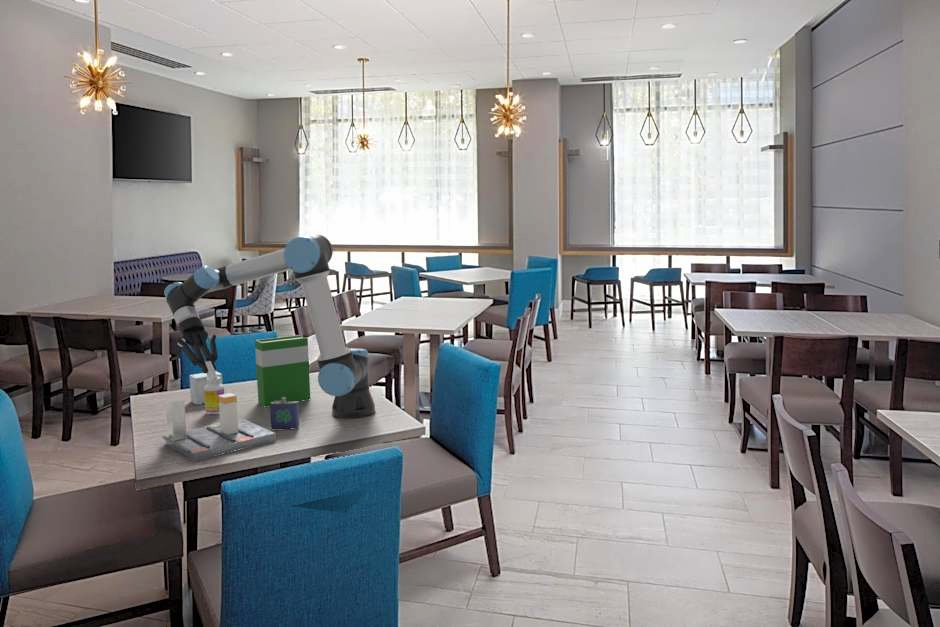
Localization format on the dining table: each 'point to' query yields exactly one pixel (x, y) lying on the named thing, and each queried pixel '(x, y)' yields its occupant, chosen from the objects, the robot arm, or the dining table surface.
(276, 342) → the hardback book
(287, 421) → the flask
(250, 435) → the grey slotted tray
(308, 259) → the robot arm
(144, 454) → the dining table surface
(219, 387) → the supplement bottle
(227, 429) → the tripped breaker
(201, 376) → the skincare box
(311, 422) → the dining table surface
